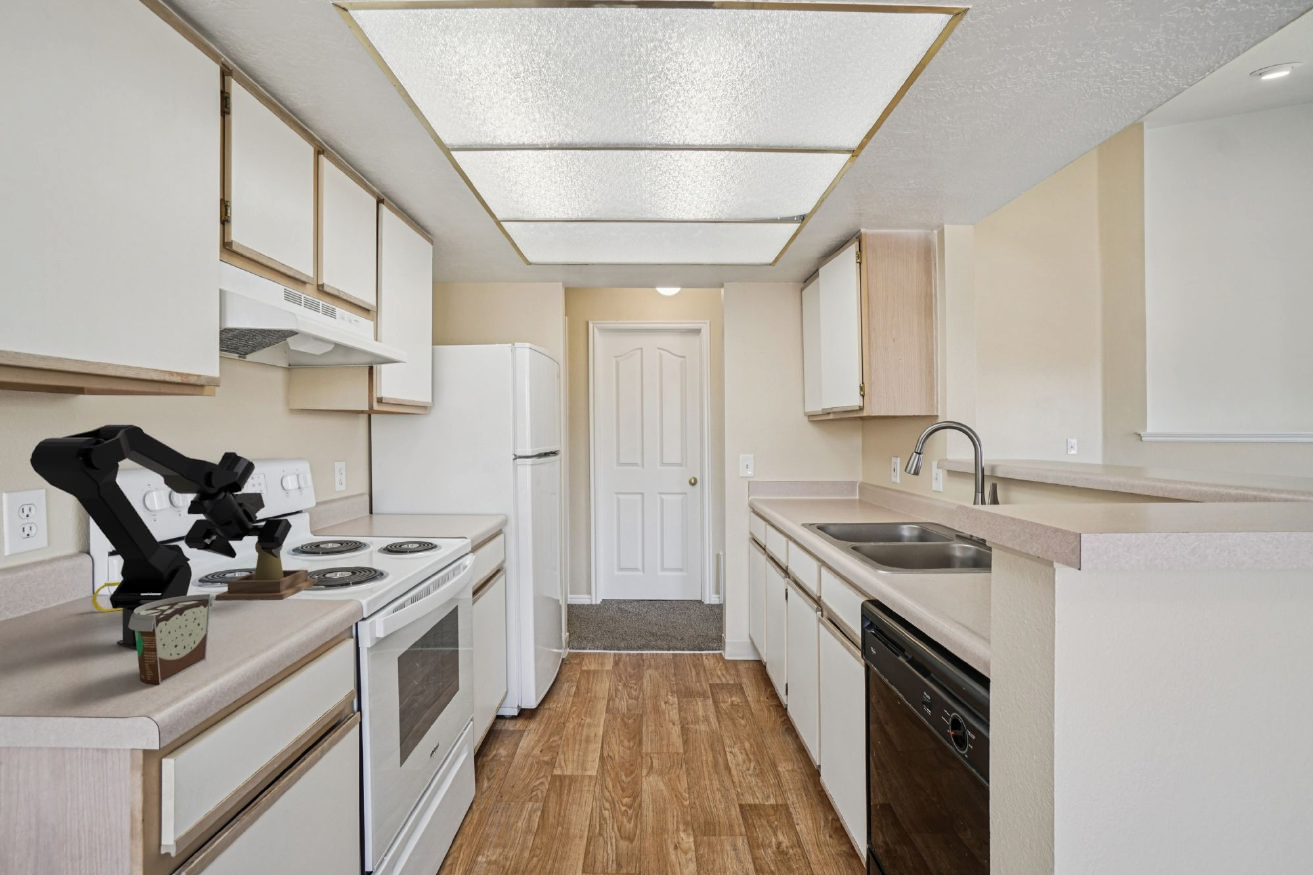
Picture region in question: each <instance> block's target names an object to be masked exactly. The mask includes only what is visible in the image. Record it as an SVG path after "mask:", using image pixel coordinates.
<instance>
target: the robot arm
mask: <svg viewBox="0 0 1313 875" xmlns="http://www.w3.org/2000/svg"><path fill="white" fill-rule="evenodd" d="M125 460H129V461H132V462H133V463H135V464H137V465H138V466H141V467H143V468H145V469H148V470H149V471H151V472H153V473H156V474H158V475H159V476H161V477H162V478H163V483H164V484H165V486H167V487H168V489H170V490H171V491H173V492H174V493H175V494H179V495H194V497H193V498H192V500H190V503H189V504H190V505H189V506H188V507H187V513H186V514H188V515H202V516H203V517H204V518H200V519H196V520H195V521H194V522H193V523H192V526H191V527H190V528H189V529H188V531H187V532H186V534H185V536H184V538H183V539H184V540H183V541H184V544H185V545H186V546H187V547H188V548H189V549H196V550H197V551H204V552H208V553H211V554H214V555H215V554H216V555H220V556H222V557H223V556H224V557H227V558H231V559H235V558H236V557H237V552H236V550H235V548H234V547H233V545H232V544H231V543H230V542H243V540H244V538H245V537H257V541H258V544H259V545H260V546H262V548H261V549H262V550H264V551H265V552H267V553H268V554H270V555H272V556H273V557H276V558H278V557H279V555H280V556H281V551H280V546H282V545H283V544H284V542H285V541H286V539H287V537H288V535H289V533H290V531H291V529H292V527H293V525H292V524H291V522H290V521H289V519H288V518H267V519H266V520H265V522H264V524H253V523H255V522H256V521H257V519H258V518H259V517H258V516H257V514H258V513H259V512H260V511H261V510H262V509H264V508H265V507H266V506H265V503H264V498H263V495H262V493H261V492H242V491H243V489H244V487H245V485H247V483H248V481H249V479H250V478H251V476H252V474H253V472H254V471H255V469H256V468H255V467H256V466H255V464H254V462H253V461H250V460H249V459H248V458H246V457H244V456H241V455H238V453H237V452H236V451H225V452H224V453H223V454H222V456H221V458H220V461H219V462H218V464H217V463H216V462H211V461H209V460H204V459H198V458H193V457H190V456H186V455H184V454H183V453H181V452H180V451H177V450H176V449H174V448H172V447H170V445H167V444H165V442H162V441H160V440H158V439H157V438H155V437H153V436H151V435H149V434H148V433H146V432H144V429H142V428H141V427H140V426H136V425H134V424H104V425H103V426H100V427H97V428H94V429H92V430H88V431H84V432H80V433H74V434H70V435H65V436H62V437H48V438H45V439H43V440H41V441H39V442H38V444H36V446H35V448H34V450H32V453H31V456H30V459H29V462H30V465H31V467H32V468H33V471H34V472H35V473H36V474H38V476H39V477H41V478H42V479H43V480H44V481H46V482H47V483H48V484H49V485H51V486H52V487H54V488H56V489H59V490H60V491H62V492H64V493H67V494H68V495H71V496H73V497H74V498H75V499H76V500H77V501H78V502H79V504H80V505H81V506H82V508H83V509H84V510H85V512H87V514H88V516H90V518H91V519H92V521H93V522H94V523H95V525H96V526H97V527H98V529H99V530H100V531H101V533H103V535H104V536H105V538H106V539H107V540H108V541H109V543H110V544H111V545H112V546H113V548H114V550H115V551H116V552H117V553H118V555H119V556H120V557H121V559H122V561H123V563H122V565H121V571H120V575H121V578H122V579H121V580H122V581H121V583H120V584H119V585H118V586H116V588H115V589H114V591H113V592H112V594H111V595H110V597H109V602H110V604H111V609H117V608H123V610H122V631H121V632H122V636H121V638H122V639H120V640H117V641H116V645H118V646H122V647H126V648H129V649H134V650H137V645H136V636H135V630H132V629H130V628H129V627H128V626H129V622H130V618H131V615H132V614H133V613H134V610H135V609H136V608H138V607H140V606H142V605H145V604H148V603H151V602H155V601H159V600H164V599H169V598H174V597H181V596H188V592H189V588H190V584H191V580H192V567H191V565H190V564H189V562H190V561H191V558H189V557H187V556H186V555H185V552H184V550H183V549H182V547H181V546H180V545H179V544H176V543H175V544H161V543H159V541H158V539H157V538H156V537H155V536H154V534H153V533H152V531H151V530H150V529H149V527H148V526H147V524H146V523H145V521H144V520H143V518H142V517H141V516H140V514H139V513H138V511H137V510H136V508H135V506H134V505H133V504H132V503H131V501H130V499H129V498H128V497H127V495H126V493H125V492H124V491H123V489H122V487H120V485H119V484H118V482H117V477H118V472H119V468H120V464H119V463H121V462H123V461H125ZM240 492H242V493H240Z"/></svg>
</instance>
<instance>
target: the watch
mask: <svg viewBox="0 0 1313 875" xmlns="http://www.w3.org/2000/svg"><path fill="white" fill-rule="evenodd" d="M122 580H123V579H114V580H107V581H105V582H104V584H103V585H101V586H100V587H99V588H97V589H96V591H95V592H94V593H93V595H92V601H91V602H92V605H93V606H94V608H95V609H96V610H97V611H99V612H101V613H109V612H118V610H120V611H123V608H117V609H113V608H108V609H106V608H104V607H103V606H102V607H101V606H100V605H99V603H98V601H97V598H98V594H99V592H100V591H101V590H102V589H104V588H106V587H118V585H119V584H120V583H121V581H122Z"/></svg>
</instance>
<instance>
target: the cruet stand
mask: <svg viewBox="0 0 1313 875" xmlns="http://www.w3.org/2000/svg"><path fill="white" fill-rule="evenodd" d="M282 570H283V577H284V578H282V579H280V580H254V578H255V572H256V571H254V572H252V573H248V574H246V575H243V576H240V577H236V578H234V579H231V580H229V581H227V590H226V591H223V592H221V593H218V594H215V601H233V600H235V601H237V600H238V601H240V600H241V599H260V600H284V599H287V598H289V597H291V596H294V595H296V594H298V593H299V592H302V591H304V590H306V589H309V588H310V587H312V586H315V585H317V584H318V583H319V582H318V581H319V579H318V578H309V570H308V569H282ZM317 582H318V583H317ZM316 583H317V584H316ZM314 584H315V585H314ZM241 601H242V600H241Z"/></svg>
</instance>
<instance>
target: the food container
mask: <svg viewBox="0 0 1313 875" xmlns="http://www.w3.org/2000/svg"><path fill="white" fill-rule="evenodd" d="M213 606H214V605H213V598H212V597H211V593H203V594H201V593H200V594H191V595H187V596H181V597H174V598H169V599H164V600H159V601H155V602H151V603H148V604H145V605H142V606H140V607H138V608H136V609H135V610H134V613H133V614H132V615H131V618H130V622H129V626H128V627H129V628H130V629H132V630H135V636H136V645H137V649H136V652H137V663H138V672H139V681H140V683H142V684H144V685H148V686H149V685H150V686H160V685H162V684H164V683H166V682H168V681H169V680H171V679H173V678H176V677H177V676H179V675H180V674H183V673H185V672H186V671H188V670H190V669H192V668H194V667H195V666H197V665H199V664H201V663H203V662H205V661H207V651H208V638H209V637H208V636H209V624H210V623H209V622H210V610H211V607H213Z"/></svg>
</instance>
